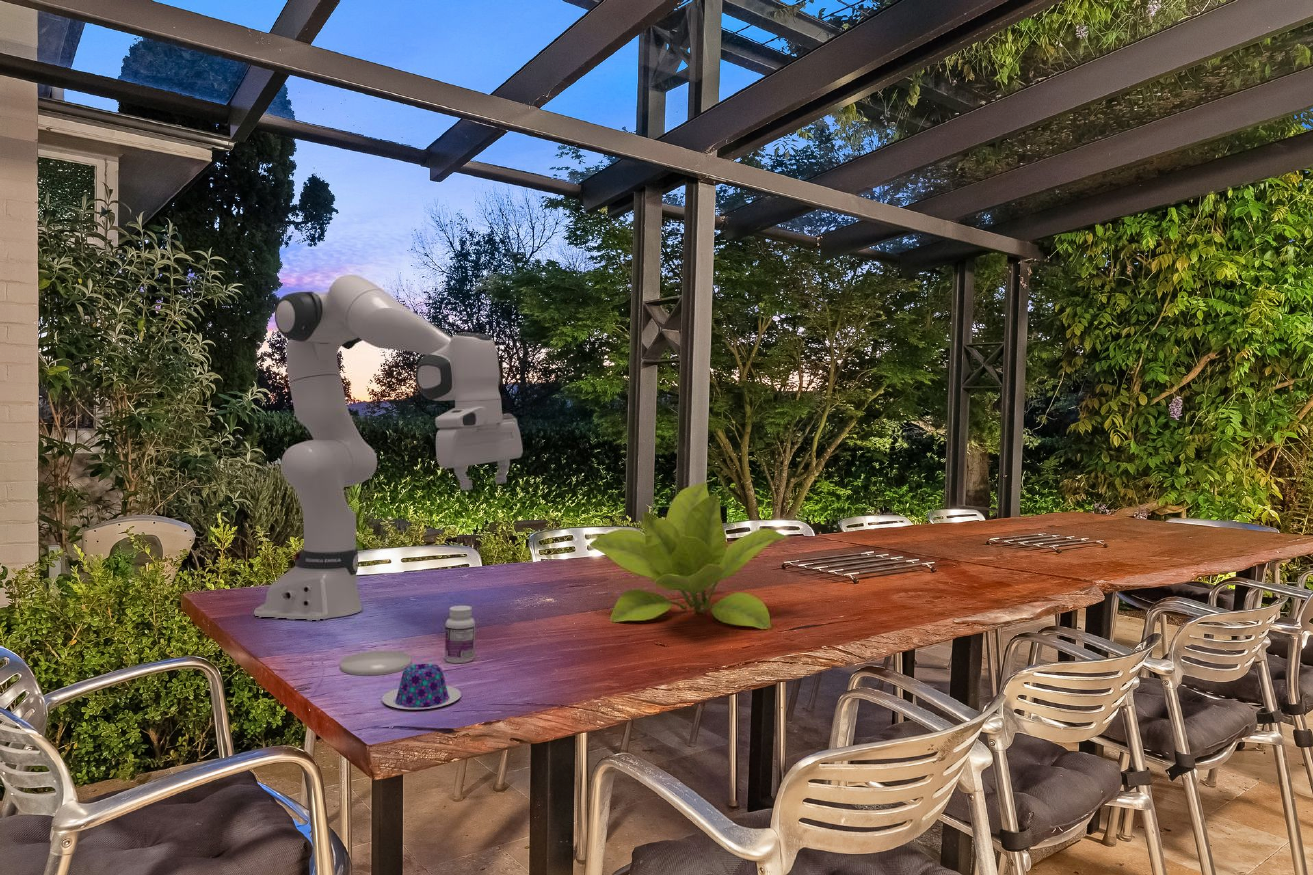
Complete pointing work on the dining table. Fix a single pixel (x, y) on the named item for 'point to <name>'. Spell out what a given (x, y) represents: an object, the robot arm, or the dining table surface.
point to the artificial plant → (687, 560)
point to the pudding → (421, 688)
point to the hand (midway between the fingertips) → (484, 486)
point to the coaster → (375, 663)
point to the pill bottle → (460, 635)
